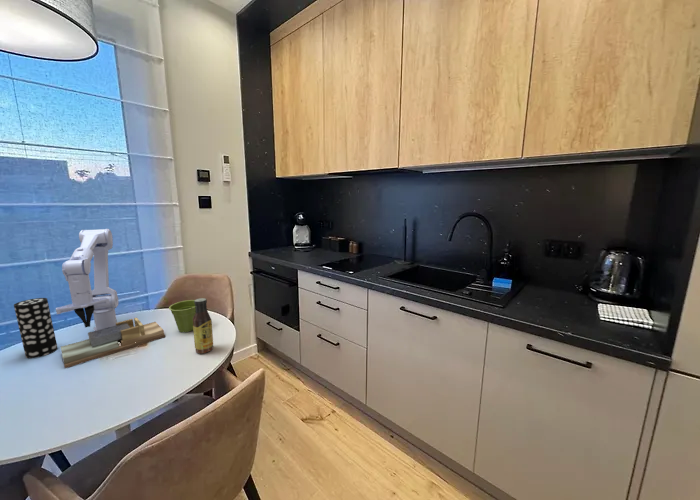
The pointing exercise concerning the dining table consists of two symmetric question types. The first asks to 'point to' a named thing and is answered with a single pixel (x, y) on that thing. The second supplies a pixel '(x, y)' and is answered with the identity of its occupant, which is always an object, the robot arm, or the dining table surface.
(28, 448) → the dining table surface
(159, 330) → the tan piece
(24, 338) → the white-spotted black cylinder
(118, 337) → the metal block
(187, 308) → the plant pot
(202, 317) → the sauce bottle
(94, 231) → the robot arm
